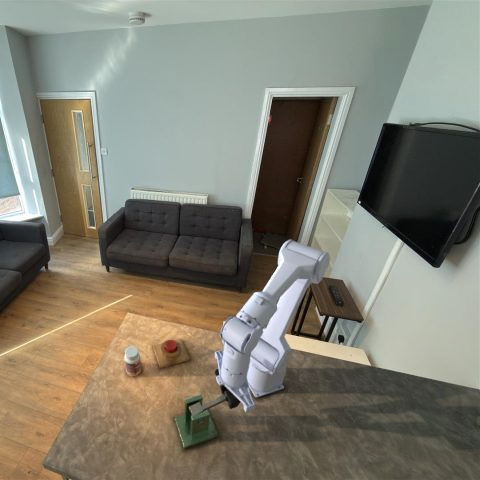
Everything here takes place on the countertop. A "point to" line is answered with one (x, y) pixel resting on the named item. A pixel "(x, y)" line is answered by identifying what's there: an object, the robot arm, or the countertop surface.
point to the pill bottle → (132, 361)
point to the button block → (170, 354)
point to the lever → (208, 404)
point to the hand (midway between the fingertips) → (229, 399)
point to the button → (170, 346)
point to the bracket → (195, 425)
